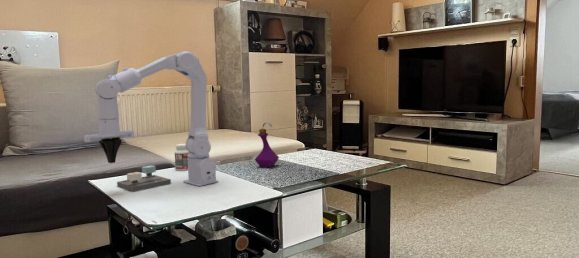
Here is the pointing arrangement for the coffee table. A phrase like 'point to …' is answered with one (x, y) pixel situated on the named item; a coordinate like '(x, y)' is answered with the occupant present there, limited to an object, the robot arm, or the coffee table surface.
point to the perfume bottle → (266, 151)
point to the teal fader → (148, 170)
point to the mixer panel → (144, 183)
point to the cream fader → (134, 177)
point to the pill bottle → (181, 157)
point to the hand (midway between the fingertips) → (111, 162)
